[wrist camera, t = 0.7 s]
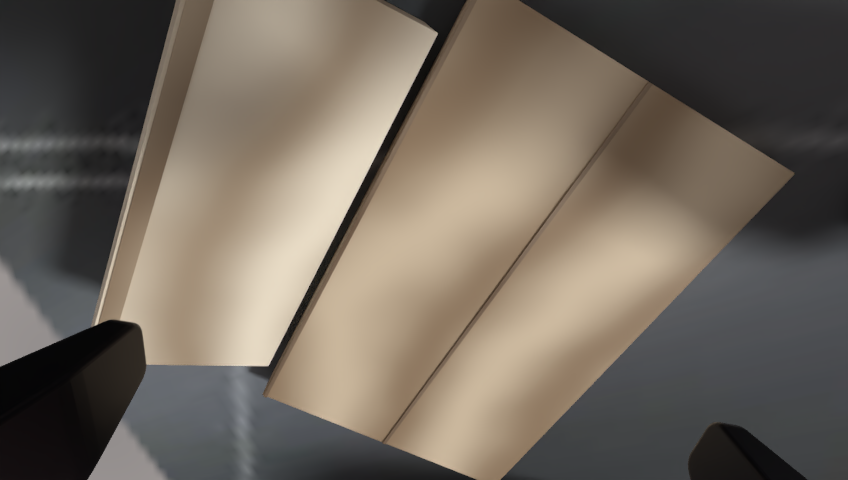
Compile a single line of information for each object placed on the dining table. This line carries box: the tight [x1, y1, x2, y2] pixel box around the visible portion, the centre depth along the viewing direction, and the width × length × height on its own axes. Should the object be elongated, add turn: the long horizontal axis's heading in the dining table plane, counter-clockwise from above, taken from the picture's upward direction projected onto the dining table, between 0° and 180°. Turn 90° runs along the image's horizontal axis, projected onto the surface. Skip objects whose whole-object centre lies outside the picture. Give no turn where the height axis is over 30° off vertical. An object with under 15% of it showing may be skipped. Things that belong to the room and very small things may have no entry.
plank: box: [91, 0, 438, 366], centre depth 17 cm, size 7×16×1 cm, turn 151°
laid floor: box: [263, 0, 795, 480], centre depth 21 cm, size 13×20×1 cm, turn 152°
